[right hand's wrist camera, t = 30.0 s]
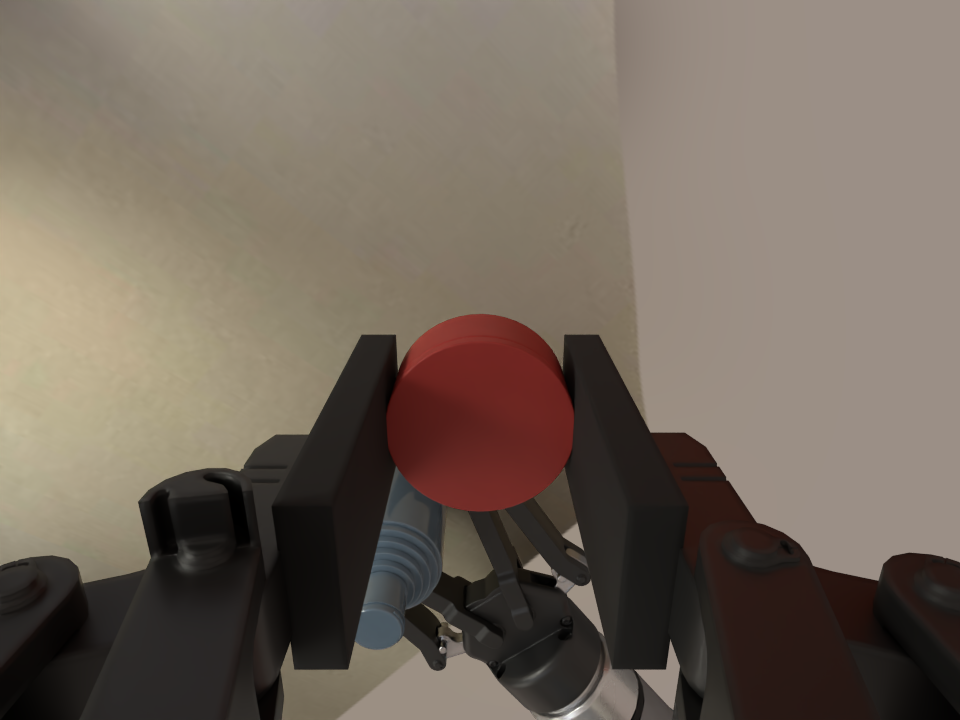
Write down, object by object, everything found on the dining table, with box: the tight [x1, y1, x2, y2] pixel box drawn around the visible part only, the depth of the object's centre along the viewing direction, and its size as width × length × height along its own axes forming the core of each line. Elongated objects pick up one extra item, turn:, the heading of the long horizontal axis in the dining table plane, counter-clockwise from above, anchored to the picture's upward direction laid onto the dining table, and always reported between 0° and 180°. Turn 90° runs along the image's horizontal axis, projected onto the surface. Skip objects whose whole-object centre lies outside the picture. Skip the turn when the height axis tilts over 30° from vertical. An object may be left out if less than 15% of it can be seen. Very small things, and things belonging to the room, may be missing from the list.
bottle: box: [355, 466, 447, 650], centre depth 39 cm, size 6×6×17 cm
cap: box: [386, 314, 574, 511], centre depth 13 cm, size 4×4×2 cm
